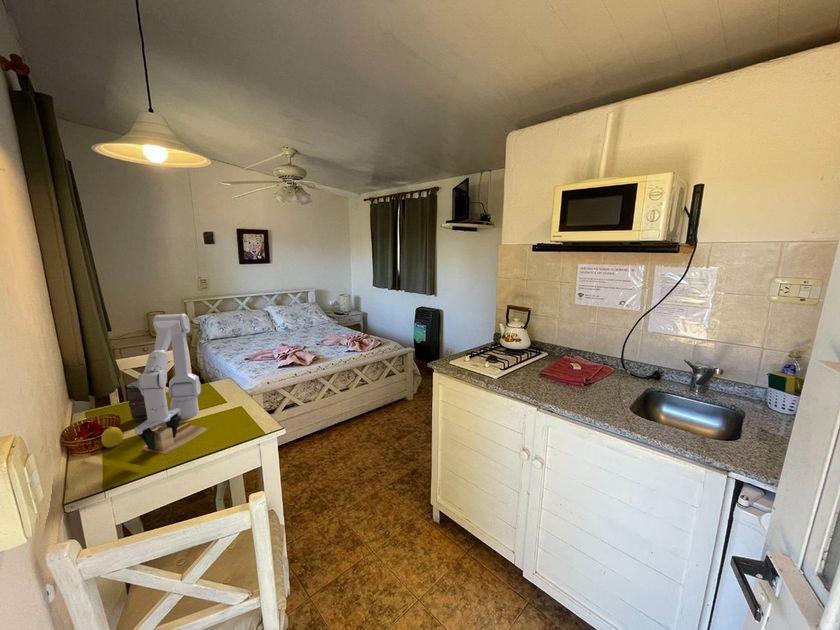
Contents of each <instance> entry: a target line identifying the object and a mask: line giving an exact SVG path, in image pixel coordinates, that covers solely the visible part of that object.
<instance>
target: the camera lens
mask: <svg viewBox="0 0 840 630" xmlns="http://www.w3.org/2000/svg"><path fill="white" fill-rule="evenodd" d="M137 384H138V381H133V382H131V383H129V384H127V385H126V394H127V399H128V407H129V411H130V414H131V418H132V419H133V421H134V422H135V423H143V422H145V421H146V420H148V418H147V412H146V406H145V400H144V396H143V395H142V394H141V391H140V389H139V388H138V385H137Z"/></svg>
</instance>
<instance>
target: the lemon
mask: <svg viewBox="0 0 840 630" xmlns="http://www.w3.org/2000/svg"><path fill="white" fill-rule="evenodd" d="M123 438H124V435H123V432H122V430H121V429H120V428H119V427H116V426H109V427H108V428H106V429H105V430H104V431H103V432H102V434H101V444H102V445H103V446H104V447H105V448H114V447H117V446H119V445H120V444H121V443H122V442H123V440H124V439H123Z"/></svg>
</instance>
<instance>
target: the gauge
mask: <svg viewBox="0 0 840 630" xmlns="http://www.w3.org/2000/svg"><path fill="white" fill-rule="evenodd" d="M151 430H152V431H156V432H155V438H154V440H155V449H159V450H164V449H166V448H168V447H170V446H171V445H173V444H174V439H173V433H172V428H169V427H167V426H161V425H160V426H158V427H156V428H154V429H151Z"/></svg>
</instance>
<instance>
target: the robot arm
mask: <svg viewBox="0 0 840 630" xmlns="http://www.w3.org/2000/svg"><path fill="white" fill-rule="evenodd" d="M152 323H153V327H154V330H155V333H156V338H155V341H154V343H155V344H154V348H153V351H151V352H150V353H149V354H148V356H147V361H146V364H145V367H144V370H143V372H142V373H141V374H140V375H139V376H138V378H137V382H138V384H137V385H138V388H139V389H140V391H141V394H142V395H143V396H144V400H145V406H146V412H147V418H148V420H146V421H144V422H141V424H140V425H138V426H136V427H134V428H133V430H134V434H135V435H137V436H138V437H140V439H142V440H143V442H144V443H145V445H147V447H148V449H152V450H153V449H155V440H154V438H155V432H156V431H152V430H153V429H151V428H153V427H155V426H157V425H160V424H162V423H165V427H169V428H172V433H173V438H175V437H176V431H177V428H178V427H179V424H180V422H181V420H183V419H190V418H194V417H196V416H198V415H199V414H200V409H199V401H198V396H199V395H200V393H201V391H202V384H201V382H200V378H199V375H196V374H194V373H192V372H191V370H190V369H191V368H190V361H189V360H190V359H189V351H188V350H189V349H188V342H187V341H188V340H187V334H189V333H190V332H191V325H190V319H189V317H188V315H187V314H186V313H174V314H156V315H155V316H154V317H153V320H152ZM170 344H171V349H172V357H173V365H174V373H175V375H174V376H173V377H172V378H171V379H170V380H169V382H168V371H167V368H168V363H169V359H170V355H169V354H168V353H167V352H168V349H169V347H170ZM167 383H168V392H167V393H168V395H169V397H170V398H171V400H170V402H169V405H168V401H167V394H166V388H165V387H166V385H167ZM168 407H169V408H170V410H169V408H168Z"/></svg>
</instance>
